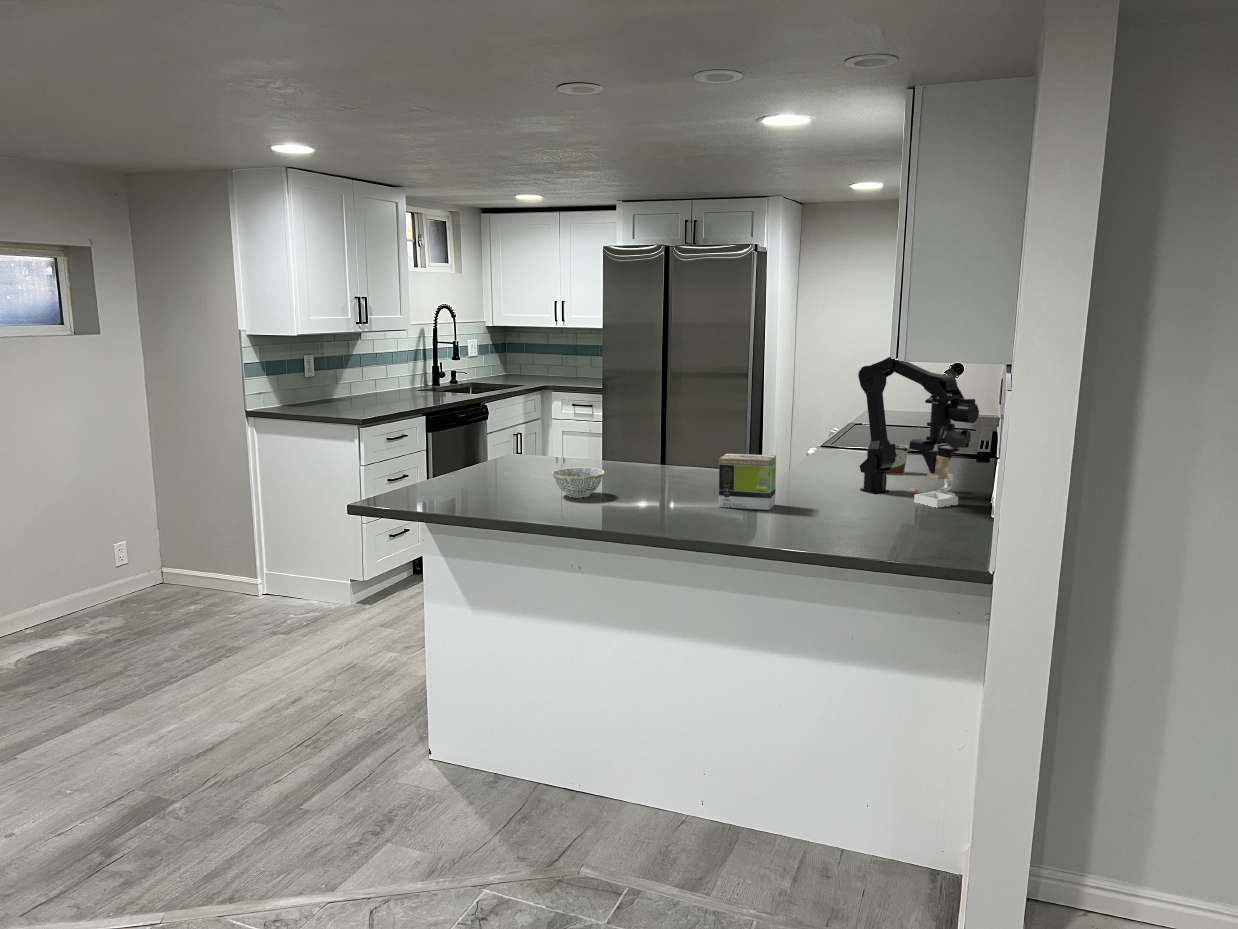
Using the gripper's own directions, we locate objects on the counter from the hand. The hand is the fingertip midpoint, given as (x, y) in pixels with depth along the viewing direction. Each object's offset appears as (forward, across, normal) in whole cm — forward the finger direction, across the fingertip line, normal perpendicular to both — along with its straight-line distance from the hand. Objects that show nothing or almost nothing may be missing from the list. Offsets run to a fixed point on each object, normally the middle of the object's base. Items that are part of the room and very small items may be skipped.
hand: (937, 472), depth 265 cm
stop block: (+2, 0, 0) cm, 2 cm away
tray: (+9, 0, 0) cm, 9 cm away
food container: (+10, +25, +44) cm, 51 cm away
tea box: (+10, -51, +24) cm, 57 cm away
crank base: (+9, +9, +10) cm, 16 cm away
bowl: (+10, -88, +60) cm, 107 cm away
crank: (+8, +13, +8) cm, 17 cm away
